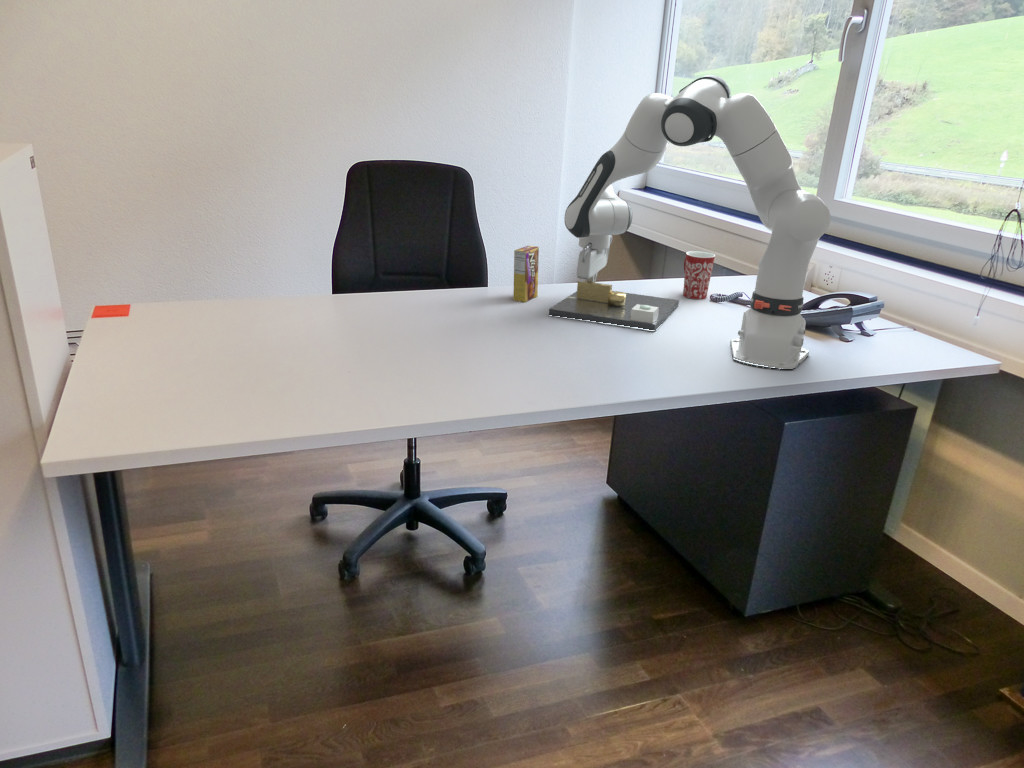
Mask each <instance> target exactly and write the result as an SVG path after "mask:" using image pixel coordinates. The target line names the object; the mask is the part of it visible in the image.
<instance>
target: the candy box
mask: <svg viewBox="0 0 1024 768" xmlns="http://www.w3.org/2000/svg"><path fill="white" fill-rule="evenodd" d="M539 249H540V248H539V246H535V245H525V246H523V247H520V248H517V249H514V253H513V254H514V255H513V258H514V259H513V294H512V295H513V297H512V298H513V300H512V301H514V300H515V301H514V302H519V301H521V302H520V303H527V302H529V301H530V300H533V299H535V298H536V297H538V295H539V294H538V291H539V290H538V288H539V252H540V251H539Z"/></svg>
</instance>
